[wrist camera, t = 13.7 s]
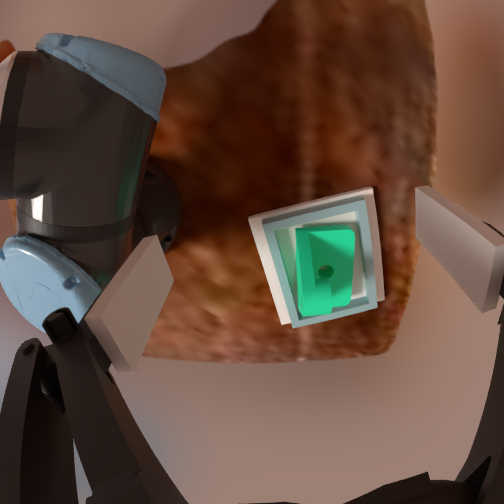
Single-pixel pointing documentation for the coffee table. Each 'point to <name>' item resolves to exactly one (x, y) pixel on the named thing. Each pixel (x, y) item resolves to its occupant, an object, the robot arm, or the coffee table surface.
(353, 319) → the coffee table surface
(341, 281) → the camera mount
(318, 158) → the coffee table surface
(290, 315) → the dock
